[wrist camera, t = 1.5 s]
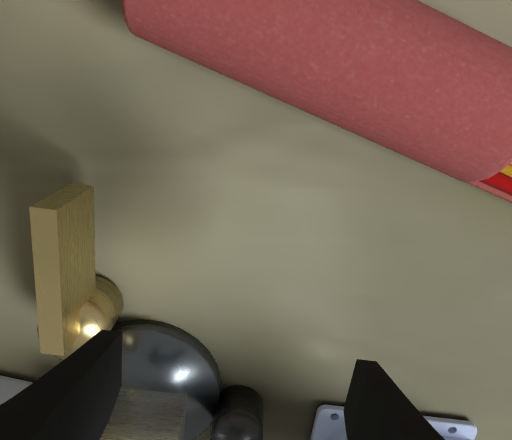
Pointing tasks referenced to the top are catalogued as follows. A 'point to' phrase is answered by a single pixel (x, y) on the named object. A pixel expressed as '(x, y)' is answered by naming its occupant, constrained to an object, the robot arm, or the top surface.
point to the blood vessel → (359, 71)
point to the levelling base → (176, 390)
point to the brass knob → (69, 272)
